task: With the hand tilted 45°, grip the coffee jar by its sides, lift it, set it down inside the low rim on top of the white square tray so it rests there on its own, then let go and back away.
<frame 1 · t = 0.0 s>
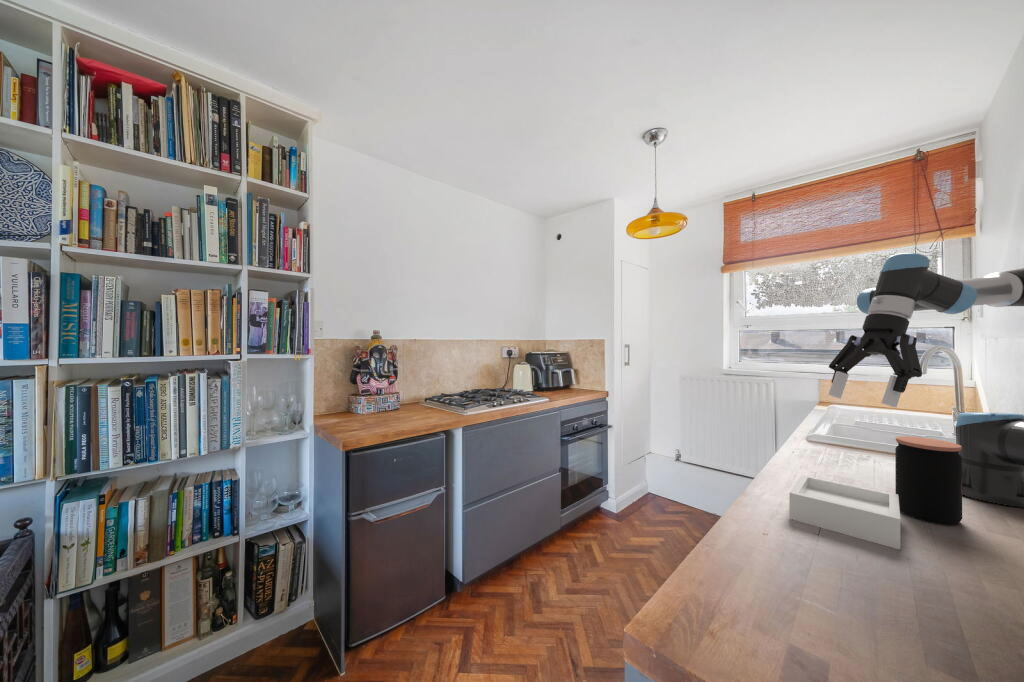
hand: (859, 400, 88), 28 cm above the worktop, tool tilted 20°, fingers open, 13 cm apart
white square tray: (843, 521, 86), on the worktop
coffee jar: (927, 516, 89), on the worktop
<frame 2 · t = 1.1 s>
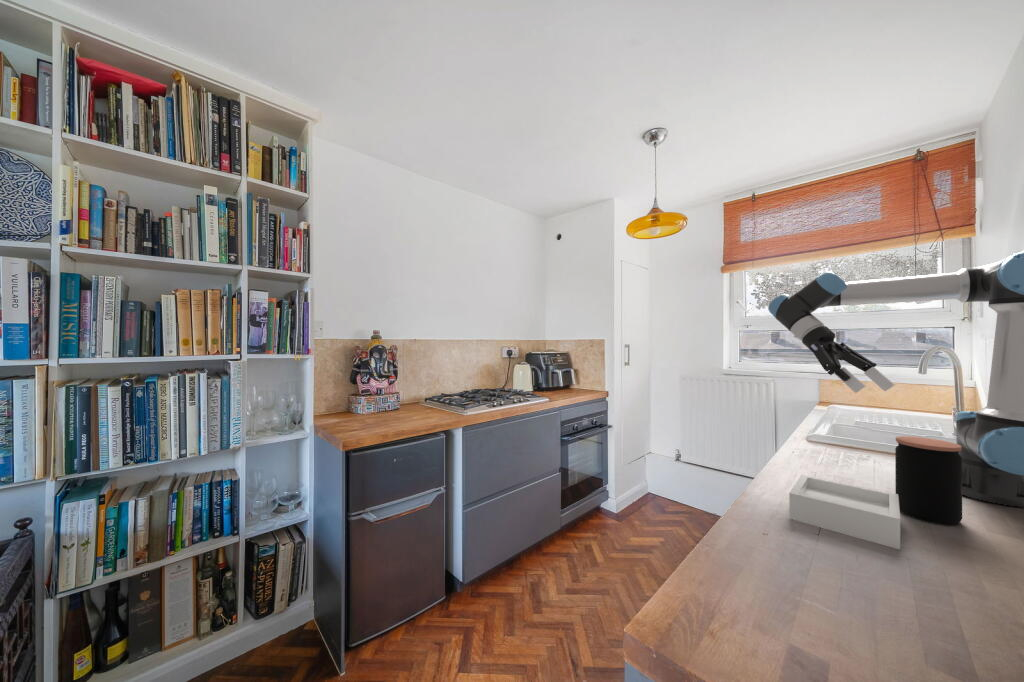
hand: (875, 388, 98), 30 cm above the worktop, tool tilted 45°, fingers open, 13 cm apart
nothing on the worktop moved.
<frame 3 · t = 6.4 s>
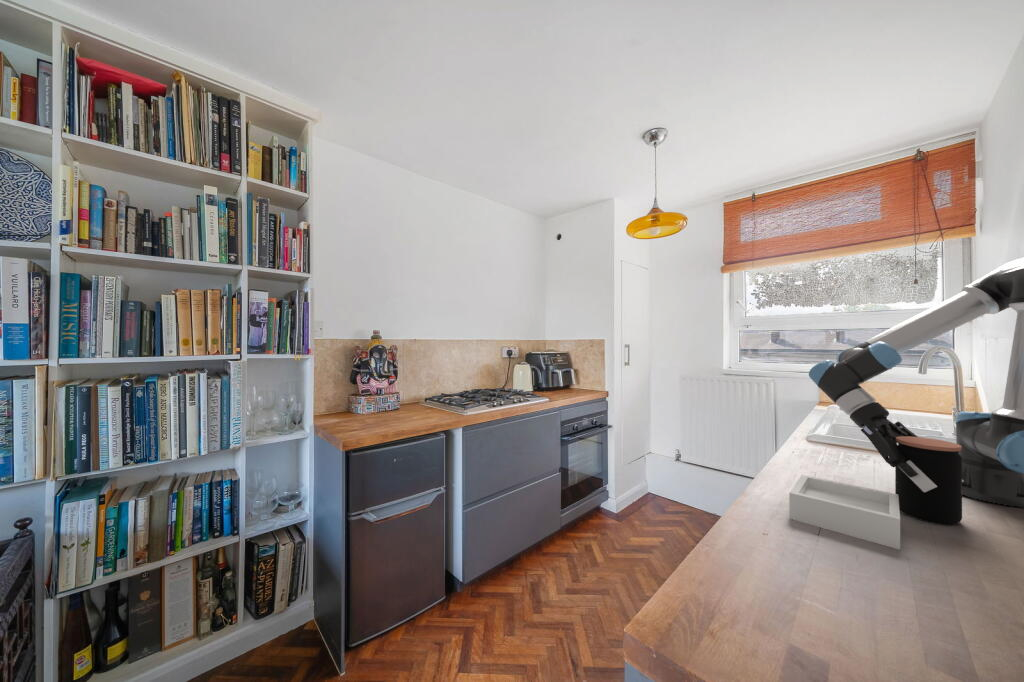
hand: (944, 486, 86), 8 cm above the worktop, tool tilted 45°, fingers closed on coffee jar, 11 cm apart
coffee jar: (927, 516, 89), on the worktop, touching gripper
everything else where it was.
when the fingers open (13 cm above the worktop, at t = 15.6 s): coffee jar drops 1 cm, resting on white square tray.
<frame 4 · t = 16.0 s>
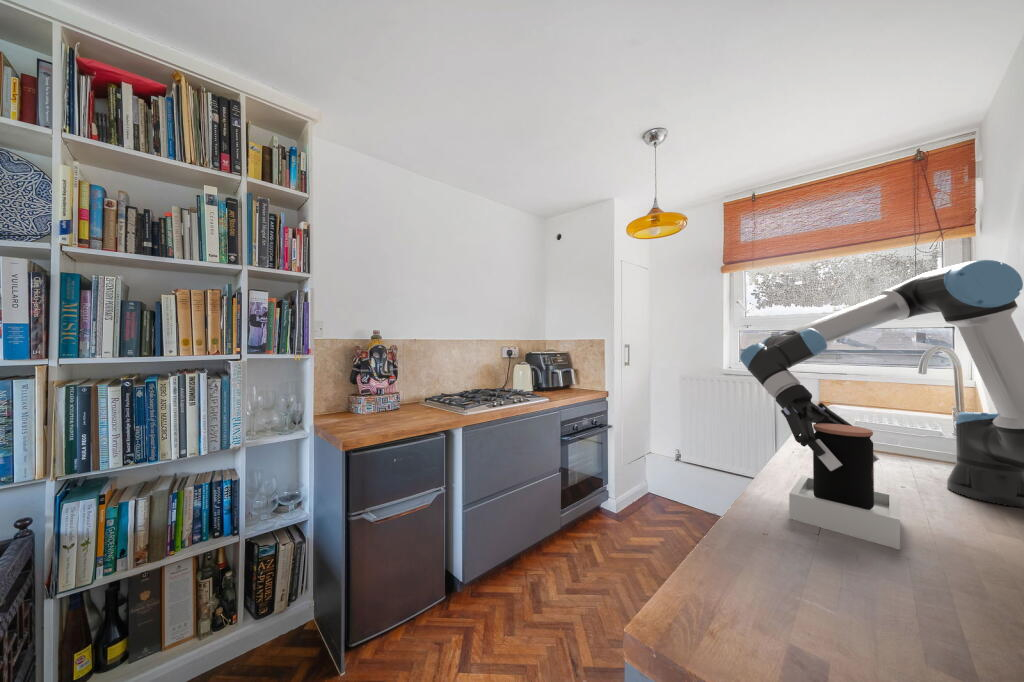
hand: (855, 465, 84), 13 cm above the worktop, tool tilted 45°, fingers open, 13 cm apart
white square tray: (843, 521, 86), on the worktop, touching coffee jar
coffee jar: (842, 504, 87), point 3 cm above the worktop, touching white square tray
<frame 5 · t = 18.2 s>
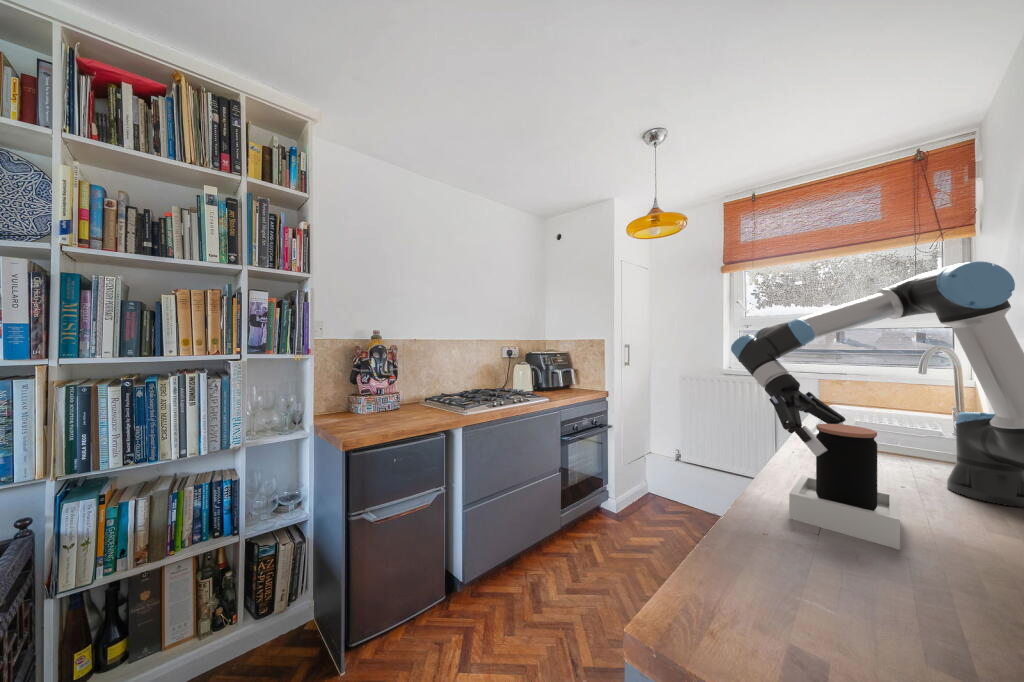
hand: (840, 450, 87), 16 cm above the worktop, tool tilted 45°, fingers open, 13 cm apart
nothing on the worktop moved.
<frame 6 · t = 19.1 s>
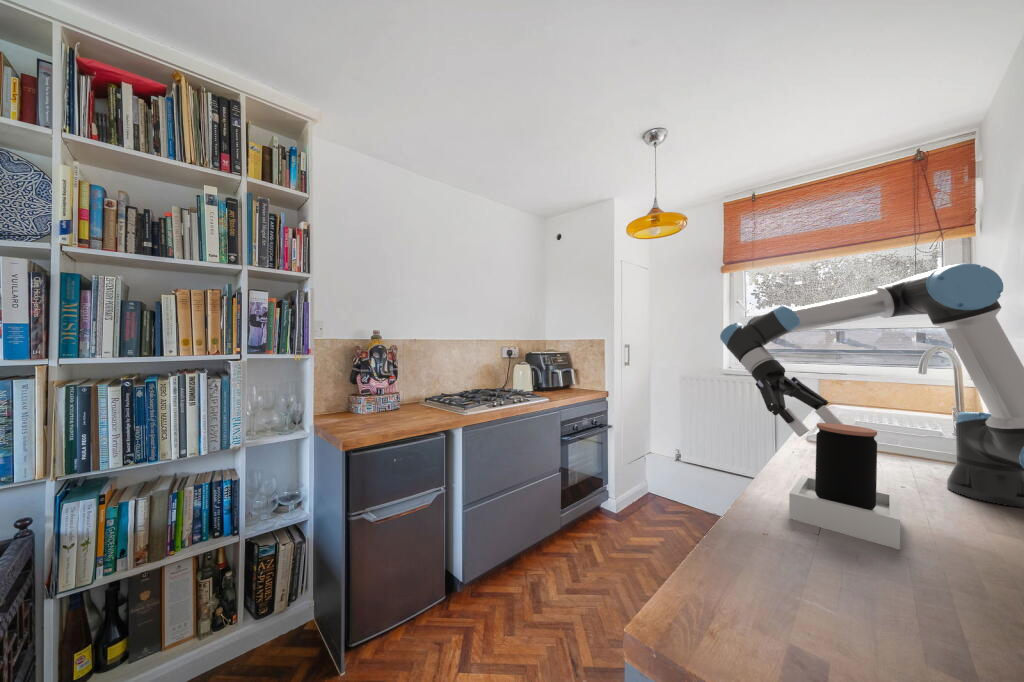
hand: (822, 431, 90), 20 cm above the worktop, tool tilted 45°, fingers open, 13 cm apart
nothing on the worktop moved.
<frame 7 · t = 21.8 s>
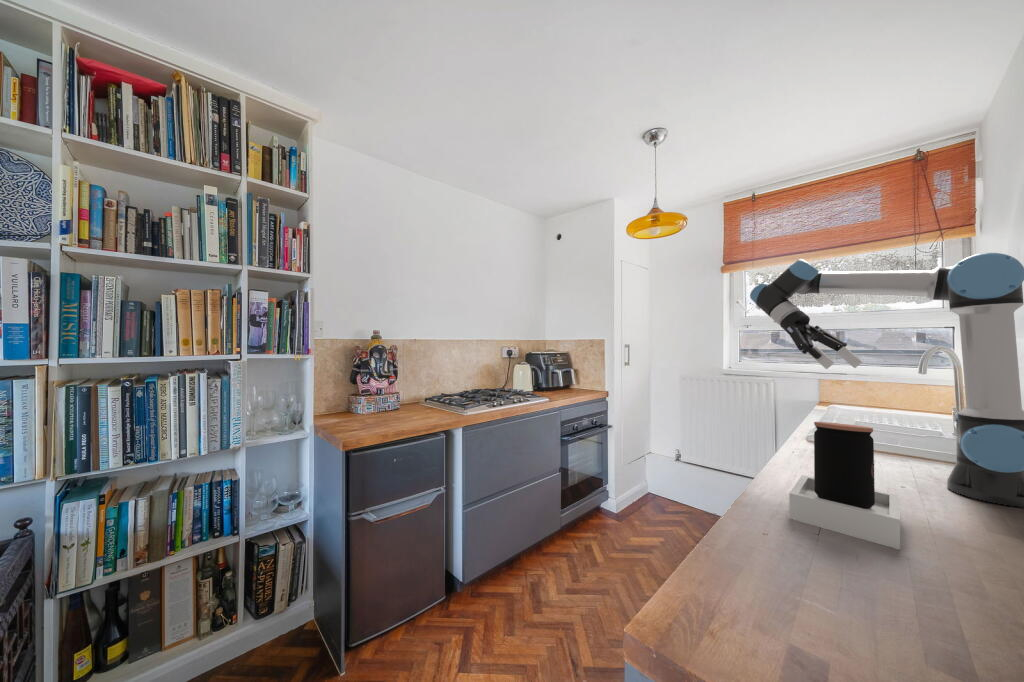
hand: (845, 365, 108), 35 cm above the worktop, tool tilted 45°, fingers open, 13 cm apart
white square tray: (843, 521, 86), on the worktop
coffee jar: (843, 502, 87), point 4 cm above the worktop
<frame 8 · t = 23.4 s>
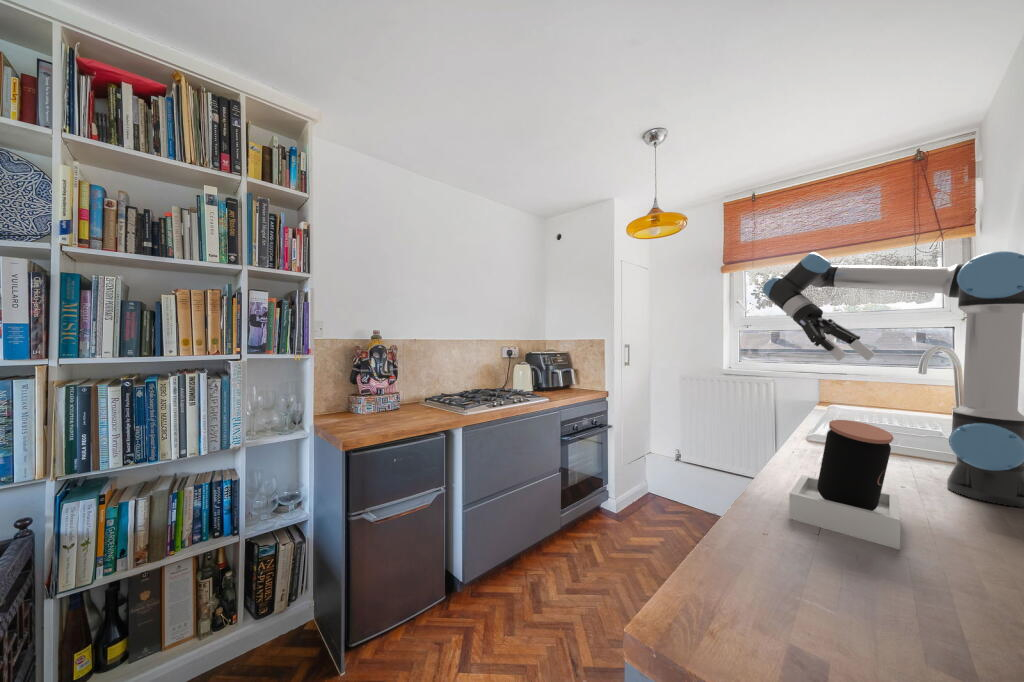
hand: (857, 357, 109), 38 cm above the worktop, tool tilted 45°, fingers open, 13 cm apart
at the end: coffee jar inside the target area on the white square tray (0.4 cm from its centre), point 4.6 cm above the white square tray's base; coffee jar tilted 9°; the gripper is holding nothing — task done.
